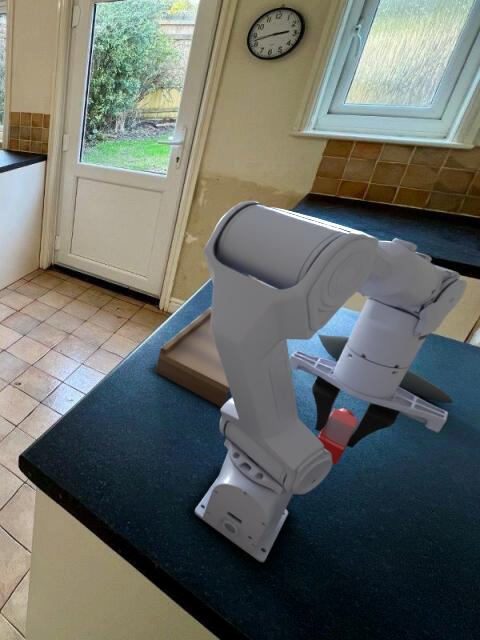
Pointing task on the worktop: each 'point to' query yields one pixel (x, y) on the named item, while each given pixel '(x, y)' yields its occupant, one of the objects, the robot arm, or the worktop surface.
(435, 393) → the paintbrush
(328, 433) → the red rectangular prism
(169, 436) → the worktop surface
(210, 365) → the shelf
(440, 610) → the worktop surface
